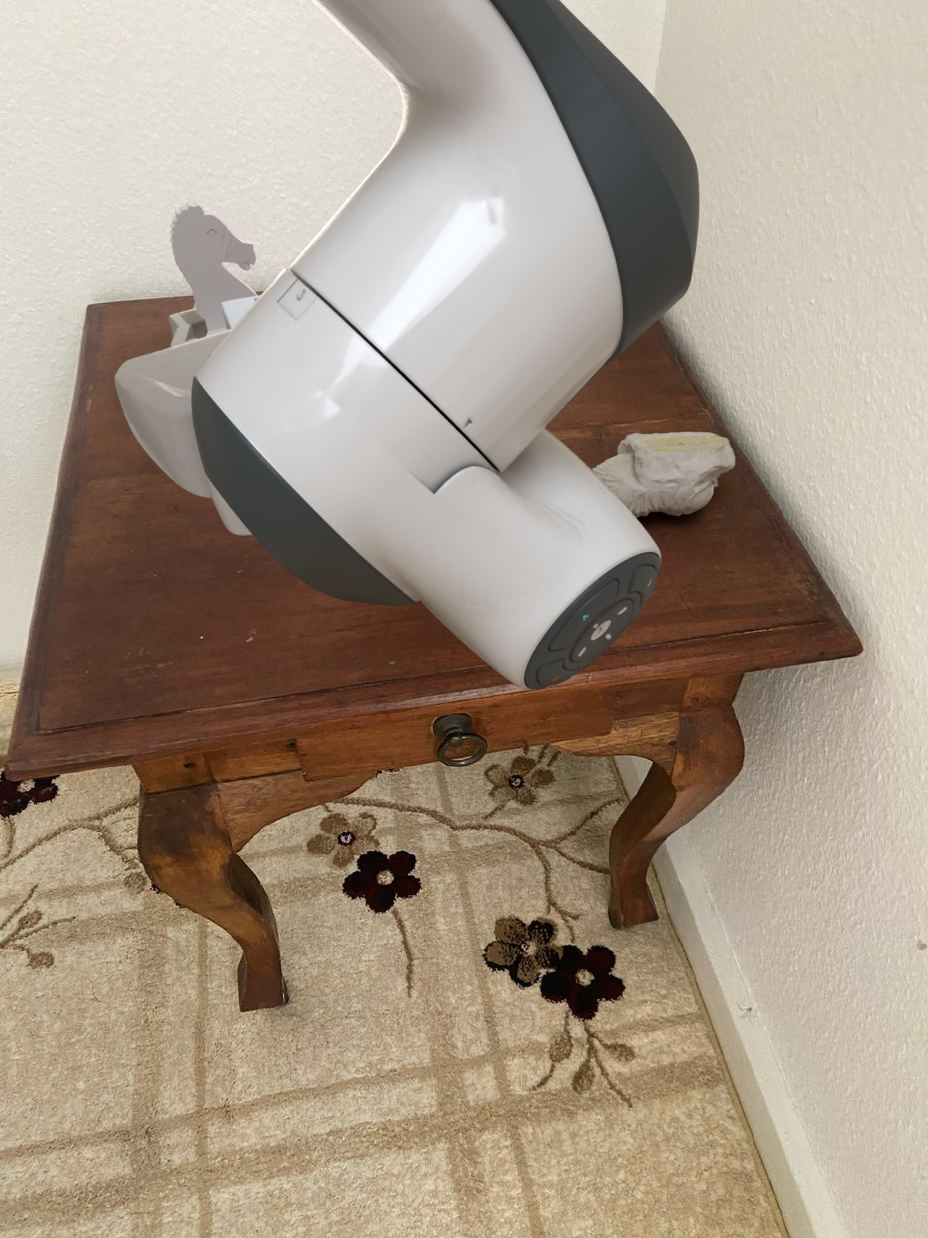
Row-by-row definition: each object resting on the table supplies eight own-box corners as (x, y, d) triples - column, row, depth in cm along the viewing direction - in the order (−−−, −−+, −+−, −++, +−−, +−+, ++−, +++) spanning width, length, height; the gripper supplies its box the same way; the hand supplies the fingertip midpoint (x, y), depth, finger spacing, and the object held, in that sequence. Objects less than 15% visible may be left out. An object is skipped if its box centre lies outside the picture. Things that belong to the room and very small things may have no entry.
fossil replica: (562, 497, 79) (630, 569, 74) (569, 427, 72) (644, 501, 67) (666, 447, 83) (738, 512, 78) (682, 376, 76) (762, 442, 71)
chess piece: (286, 351, 96) (262, 212, 85) (197, 369, 93) (160, 229, 82) (265, 309, 102) (241, 175, 91) (181, 326, 100) (145, 190, 88)
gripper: (566, 299, 43) (419, 200, 51) (166, 436, 35) (65, 295, 43) (556, 408, 47) (422, 303, 55) (201, 550, 40) (104, 404, 48)
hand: (263, 300), depth 49 cm, fingers open, 8 cm apart
